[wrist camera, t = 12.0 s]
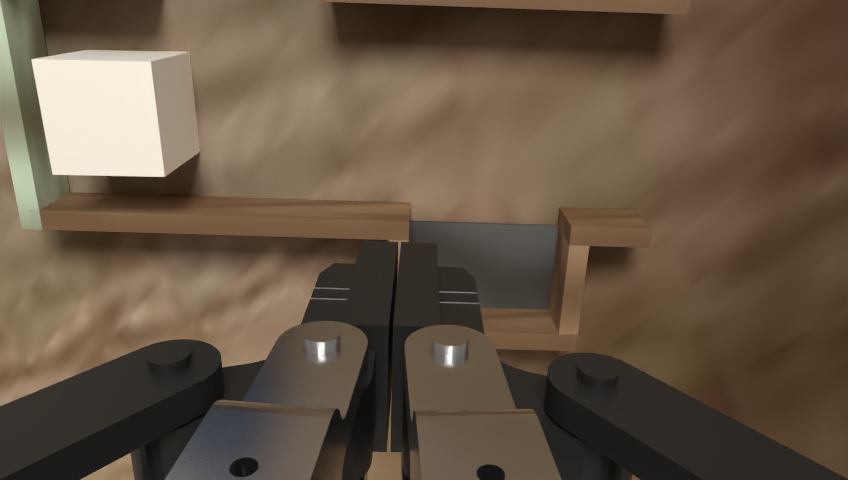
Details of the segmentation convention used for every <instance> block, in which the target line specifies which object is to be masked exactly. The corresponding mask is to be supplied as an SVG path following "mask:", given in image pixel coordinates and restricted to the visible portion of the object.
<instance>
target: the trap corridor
mask: <svg viewBox="0 0 848 480" xmlns="http://www.w3.org/2000/svg"><path fill="white" fill-rule="evenodd" d="M690 1H691V0H323V2H346V3H374V4H402V5H430V6H459V7H487V8H515V9H543V10H572V11H600V12H628V13H657V14H685V15H688V13H689V7H690ZM41 57H47V50H46V44H45V38H44V32H43V26H42V20H41V14H40V8H39V2H38V0H0V119H1V124H2V129H3V134H4V139H5V145H6V150H7V155H8V160H9V165H10V170H11V175H12V180H13V185H14V190H15V196H16V201H17V206H18V211H19V216H20V221H21V226H22V229H38V230H71V231H105V232H138V233H172V234H206V235H239V236H273V237H306V238H340V239H373V240H389V241H390V242H398V269H399V258H400V247H401V242H424V243H437V256H438V266H440V267H463V268H464V269H465V270H466V271H467V272H468V273H470V274H471V275H472V276H473V277H474V278H475V281H476V287H477V294H478V298H479V304H480V310H481V316H482V322H483V327H484V333H485V335H486V336H487V337H488V338H490V340H491V341H492V342H493V344H494V346H495V348H496V349H510V350H547V351H576V344H577V336H578V329H579V321H580V314H581V306H582V298H583V291H584V283H585V276H586V268H587V261H588V253H589V246H608V247H642V248H649V247H650V241H651V235H652V228H651V227H650V226H649V225H648V224H647V223H646V222H645V221H644V220H643V219H642V218H641V217H640V216H639V215H638V214H637V212H636V211H635V210H621V209H588V208H560V209H559V218H558V225H533V224H500V223H467V222H434V221H410V203H393V202H360V201H328V200H295V199H262V198H230V197H197V196H165V195H132V194H100V193H70V189H69V183H68V177H67V175H53V174H52V169H51V163H50V158H49V153H48V147H47V142H46V136H45V131H44V126H43V120H42V115H41V109H40V104H39V99H38V93H37V88H36V82H35V77H34V71H33V66H32V61H31V59H35V58H41Z"/></svg>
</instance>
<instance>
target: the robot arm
mask: <svg viewBox="0 0 848 480" xmlns="http://www.w3.org/2000/svg"><path fill="white" fill-rule="evenodd" d="M391 392H392V409H391V452H402V456H401V480H631V479H632V474H633V475H635V476H636V477H638V478H639V479H641V480H848V479H846V478H845V477H843V476H841V475H839V474H837V473H835V472H833V471H831V470H829V469H827V468H825V467H824V466H822V465H820V464H818V463H816V462H814V461H812V460H810V459H808V458H806V457H805V456H803V455H801V454H799V453H797V452H795V451H793V450H791V449H789V448H787V447H785V446H784V445H782V444H780V443H778V442H776V441H774V440H772V439H770V438H768V437H766V436H765V435H763V434H761V433H759V432H757V431H755V430H753V429H751V428H749V427H747V426H745V425H744V424H742V423H740V422H738V421H736V420H734V419H732V418H730V417H728V416H726V415H725V414H723V413H721V412H719V411H717V410H715V409H713V408H711V407H709V406H707V405H705V404H704V403H702V402H700V401H698V400H696V399H694V398H692V397H690V396H688V395H686V394H685V393H683V392H681V391H679V390H677V389H675V388H673V387H671V386H669V385H667V384H665V383H664V382H662V381H660V380H658V379H656V378H654V377H652V376H650V375H648V374H646V373H645V372H643V371H641V370H639V369H637V368H635V367H633V366H631V365H629V364H627V363H625V362H623V361H621V360H619V359H616V358H613V357H610V356H606V355H601V354H595V353H572V354H568V355H564V356H561V357H559V358H557V359H555V360H554V361H553V362H552V363H551V364H550V366H549V368H548V374H547V376H544V375H540V374H535V373H530V372H526V371H523V370H519V369H516V368H514V367H511V366H509V365H507V364H505V363H503V362H502V361H500V360H499V357H498V354H497V351H496V348H495V346H494V344H493V342H492V341H491V340H490V338H488V337H487V336H486V335H485V333H484V327H483V322H482V316H481V310H480V304H479V298H478V294H477V287H476V281H475V278H474V277H473V276H472V275H471V274H470V273H468V272H467V271H466V270H465V269H464V268H463V267H440V266H438V256H437V243H424V242H401V247H400V258H399V269H398V242H390V241H362V242H361V245H360V249H359V253H358V257H357V261H356V264H343V263H334V264H332V265H331V266H330V267H328V268H327V269H326V270H324V271H323V272H321V273H320V274H319V277H318V280H317V282H316V285H315V289H314V290H313V293H312V296H311V299H310V301H309V304H308V307H307V309H306V312H305V315H304V318H303V320H302V323H301V325H298V326H295V327H293V328H290V329H289V330H287V331H285V332H284V333H283V334H282V335H281V336H280V337H279V338H278V339H277V341H276V343H275V345H274V346H273V348H272V350H271V352H270V353H269V355H268V357H267V359H266V360H263V361H259V362H255V363H250V364H243V365H237V366H230V367H224V368H222V362H221V355H220V352H219V351H218V350H217V349H216V348H215V347H214V346H212V345H210V344H208V343H205V342H202V341H197V340H186V339H183V340H169V341H164V342H159V343H155V344H151V345H149V346H146V347H143V348H141V349H138V350H136V351H134V352H131V353H129V354H126V355H124V356H121V357H119V358H117V359H114V360H112V361H109V362H107V363H104V364H102V365H100V366H97V367H95V368H92V369H90V370H87V371H85V372H83V373H80V374H78V375H75V376H73V377H71V378H68V379H66V380H63V381H61V382H58V383H56V384H54V385H51V386H49V387H46V388H44V389H41V390H39V391H37V392H34V393H32V394H29V395H27V396H24V397H22V398H20V399H17V400H15V401H12V402H10V403H8V404H5V405H3V406H0V480H80V479H82V478H84V477H86V476H87V475H89V474H91V473H93V472H95V471H97V470H99V469H101V468H103V467H104V466H106V465H108V464H110V463H112V462H114V461H116V460H118V459H119V458H121V457H123V456H125V455H127V454H129V453H131V459H132V465H133V471H134V478H135V480H367V471H368V470H369V468H370V465H371V461H372V453H373V451H374V452H387V440H388V428H389V416H390V404H391Z"/></svg>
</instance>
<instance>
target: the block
mask: <svg viewBox="0 0 848 480" xmlns="http://www.w3.org/2000/svg"><path fill="white" fill-rule="evenodd" d="M31 61H32V66H33V71H34V77H35V82H36V88H37V93H38V99H39V104H40V109H41V115H42V120H43V126H44V131H45V136H46V142H47V147H48V153H49V158H50V163H51V169H52V174H53V175H92V176H143V177H165V176H167V175H168V174H170V173H171V172H172V171H174V170H175V169H177V168H178V167H179V166H181V165H182V164H184V163H185V162H186V161H188V160H189V159H191V158H192V157H193V156H195V155H196V154H198V153H199V152H200V149H199V139H198V129H197V119H196V110H195V100H194V90H193V80H192V71H191V61H190V52H170V51H123V50H83V51H77V52H71V53H65V54H59V55H53V56H47V57H41V58H35V59H31Z"/></svg>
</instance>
